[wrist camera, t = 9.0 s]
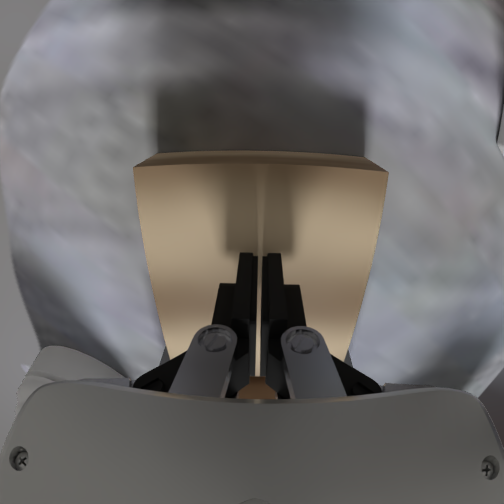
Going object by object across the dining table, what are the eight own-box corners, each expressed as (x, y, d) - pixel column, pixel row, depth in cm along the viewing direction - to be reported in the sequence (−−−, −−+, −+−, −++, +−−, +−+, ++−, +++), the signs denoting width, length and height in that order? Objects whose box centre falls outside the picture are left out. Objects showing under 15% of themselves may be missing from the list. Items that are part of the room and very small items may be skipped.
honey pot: (105, 426, 28) (71, 544, 13) (24, 361, 23) (-37, 485, 8) (174, 413, 25) (144, 579, 9) (70, 328, 20) (-19, 519, 4)
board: (157, 153, 13) (133, 167, 11) (364, 157, 13) (388, 172, 10) (182, 337, 19) (173, 371, 16) (331, 340, 19) (339, 374, 16)
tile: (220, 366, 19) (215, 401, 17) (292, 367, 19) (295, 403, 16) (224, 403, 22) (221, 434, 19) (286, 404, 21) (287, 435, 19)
